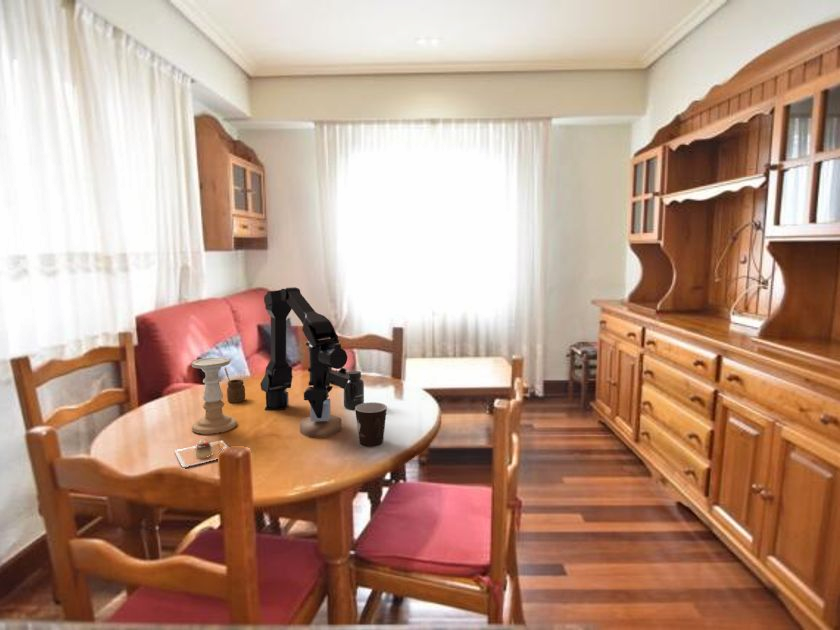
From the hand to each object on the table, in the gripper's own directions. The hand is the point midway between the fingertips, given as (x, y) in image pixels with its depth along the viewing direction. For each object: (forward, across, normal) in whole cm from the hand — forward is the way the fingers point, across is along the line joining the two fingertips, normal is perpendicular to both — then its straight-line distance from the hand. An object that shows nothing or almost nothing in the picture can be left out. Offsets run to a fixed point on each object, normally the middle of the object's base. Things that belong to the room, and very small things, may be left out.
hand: (320, 414), depth 139 cm
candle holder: (+5, +4, +32) cm, 33 cm away
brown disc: (+4, 0, 0) cm, 4 cm away
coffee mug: (+5, -12, -15) cm, 20 cm away
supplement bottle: (+5, +21, -8) cm, 23 cm away
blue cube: (+1, 0, 0) cm, 1 cm away
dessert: (+5, -16, +28) cm, 32 cm away
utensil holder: (+5, +30, +34) cm, 46 cm away
